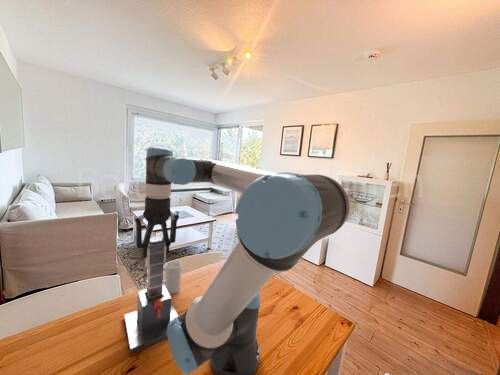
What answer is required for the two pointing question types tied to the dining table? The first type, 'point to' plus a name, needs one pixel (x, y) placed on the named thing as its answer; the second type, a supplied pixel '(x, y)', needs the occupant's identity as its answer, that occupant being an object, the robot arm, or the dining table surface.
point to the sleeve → (149, 320)
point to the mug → (172, 276)
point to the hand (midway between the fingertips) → (155, 264)
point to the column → (155, 268)
